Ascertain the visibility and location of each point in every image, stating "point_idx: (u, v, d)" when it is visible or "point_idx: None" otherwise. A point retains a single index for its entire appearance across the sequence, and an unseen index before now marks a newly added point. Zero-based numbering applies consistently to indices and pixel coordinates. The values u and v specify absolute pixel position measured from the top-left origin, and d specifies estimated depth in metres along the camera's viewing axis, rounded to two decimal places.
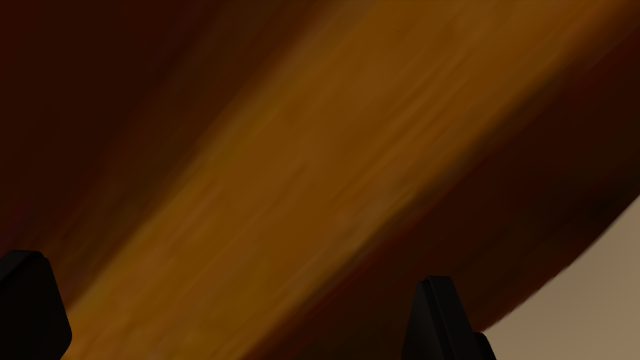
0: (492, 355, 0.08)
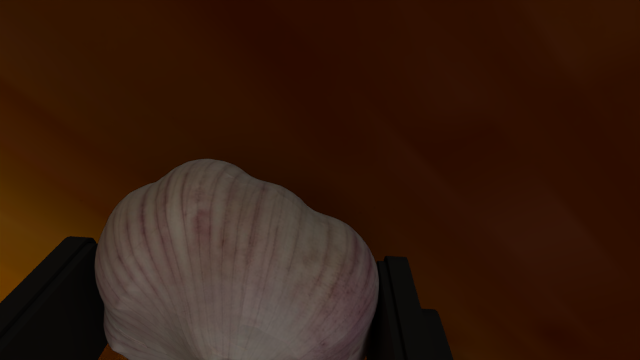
0: (442, 329, 0.09)
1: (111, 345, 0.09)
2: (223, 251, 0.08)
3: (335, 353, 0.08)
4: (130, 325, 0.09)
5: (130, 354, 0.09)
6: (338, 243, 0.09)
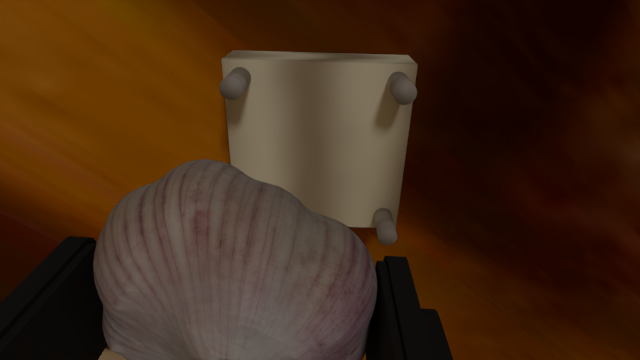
0: (441, 329, 0.09)
1: (110, 345, 0.09)
2: (221, 251, 0.08)
3: (333, 354, 0.08)
4: (128, 326, 0.09)
5: (129, 354, 0.09)
6: (335, 243, 0.09)
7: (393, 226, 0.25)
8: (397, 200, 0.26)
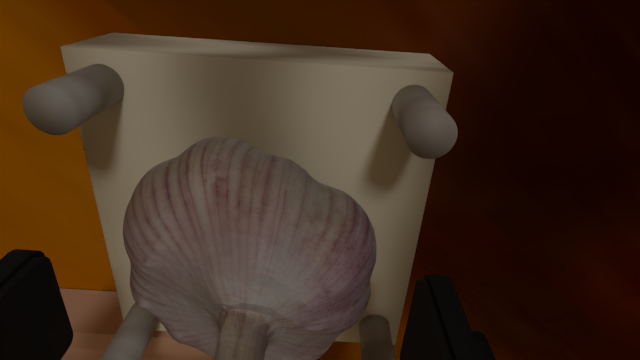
0: (491, 355, 0.08)
1: (138, 302, 0.11)
2: (240, 211, 0.09)
3: (337, 302, 0.09)
4: (157, 281, 0.10)
5: (155, 309, 0.10)
6: (339, 207, 0.10)
7: None
8: (400, 304, 0.15)
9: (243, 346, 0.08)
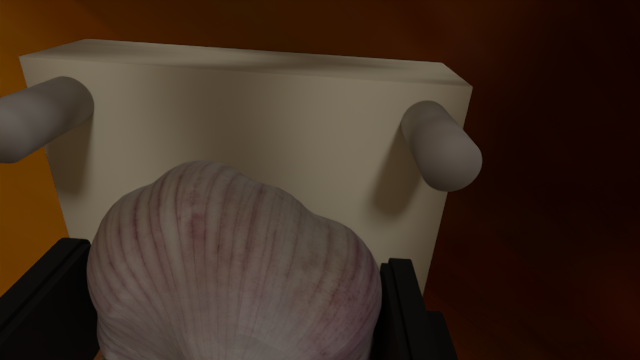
0: (447, 331, 0.09)
1: (104, 353, 0.09)
2: (219, 256, 0.07)
3: None
4: (123, 334, 0.08)
5: None
6: (338, 247, 0.08)
7: None
8: None
9: None
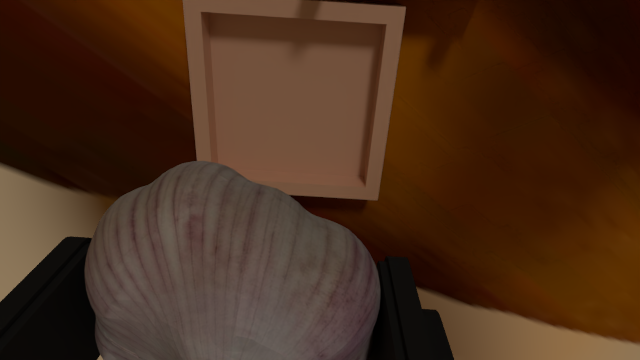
0: (443, 329, 0.09)
1: (102, 354, 0.09)
2: (217, 258, 0.07)
3: None
4: (121, 335, 0.08)
5: None
6: (337, 248, 0.08)
7: None
8: None
9: None
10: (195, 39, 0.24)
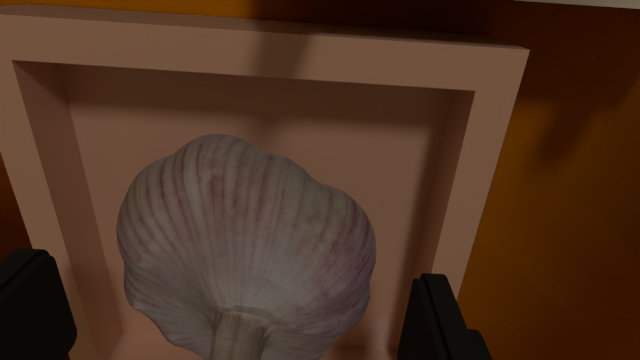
0: (487, 352, 0.09)
1: (131, 303, 0.10)
2: (236, 210, 0.09)
3: (336, 304, 0.09)
4: (150, 282, 0.10)
5: (149, 311, 0.10)
6: (338, 207, 0.10)
7: None
8: None
9: (238, 350, 0.08)
10: (11, 122, 0.10)
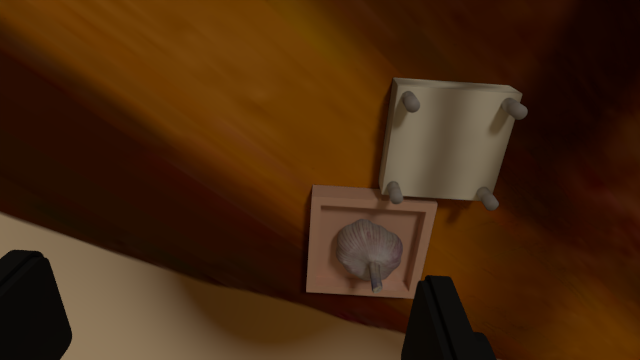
0: (492, 355, 0.08)
1: (342, 261, 0.42)
2: (374, 239, 0.41)
3: (395, 260, 0.41)
4: (350, 255, 0.41)
5: (348, 263, 0.42)
6: (394, 238, 0.41)
7: (495, 198, 0.38)
8: (494, 182, 0.39)
9: (376, 268, 0.40)
10: (315, 217, 0.42)
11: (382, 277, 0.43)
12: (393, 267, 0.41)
